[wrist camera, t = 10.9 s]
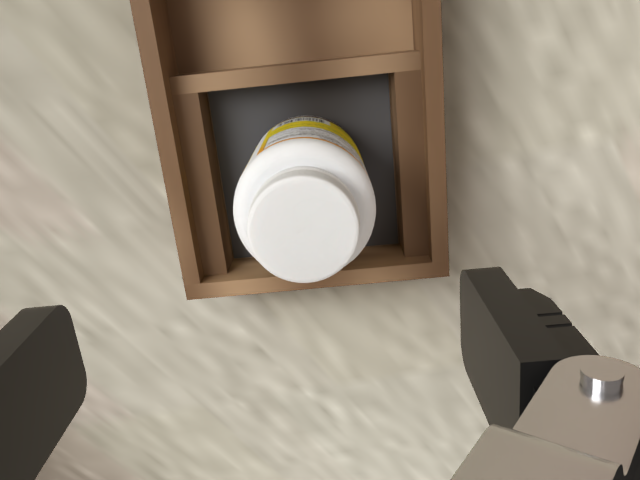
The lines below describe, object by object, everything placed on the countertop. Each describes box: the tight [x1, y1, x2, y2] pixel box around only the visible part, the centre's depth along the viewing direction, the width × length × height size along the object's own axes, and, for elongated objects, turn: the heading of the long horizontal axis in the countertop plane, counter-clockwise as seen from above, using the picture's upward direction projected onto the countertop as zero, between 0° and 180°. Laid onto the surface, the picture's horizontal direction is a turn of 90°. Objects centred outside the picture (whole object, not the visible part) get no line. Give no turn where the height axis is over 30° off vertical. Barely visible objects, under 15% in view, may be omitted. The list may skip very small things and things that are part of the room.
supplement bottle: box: [233, 115, 376, 283], centre depth 25 cm, size 6×6×10 cm
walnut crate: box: [130, 0, 449, 300], centre depth 29 cm, size 13×16×4 cm
